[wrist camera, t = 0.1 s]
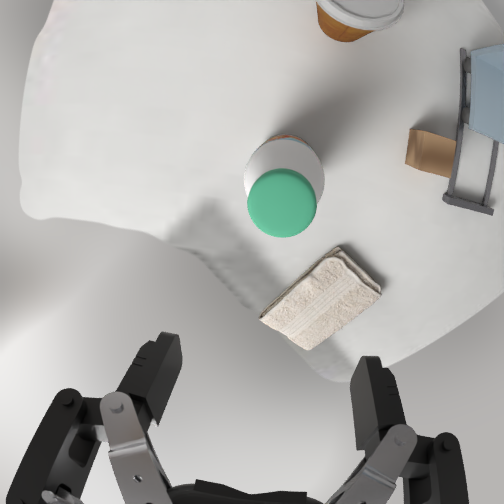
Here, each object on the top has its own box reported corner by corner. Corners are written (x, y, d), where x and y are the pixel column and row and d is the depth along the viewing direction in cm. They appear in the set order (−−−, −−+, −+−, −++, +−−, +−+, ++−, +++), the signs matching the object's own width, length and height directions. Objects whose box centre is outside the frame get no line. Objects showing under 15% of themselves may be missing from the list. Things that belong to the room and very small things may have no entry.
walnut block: (409, 128, 31) (425, 131, 27) (438, 137, 31) (456, 141, 26) (404, 163, 33) (419, 170, 29) (433, 170, 33) (450, 178, 29)
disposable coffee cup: (334, -16, 23) (349, -58, 12) (389, 28, 25) (424, -1, 14) (290, 21, 27) (290, -17, 16) (347, 66, 29) (372, 44, 18)
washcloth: (383, 284, 42) (388, 294, 40) (308, 346, 50) (308, 357, 47) (334, 239, 40) (337, 248, 37) (258, 312, 48) (255, 324, 45)
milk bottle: (325, 152, 35) (363, 187, 17) (296, 201, 38) (301, 278, 20) (273, 123, 34) (256, 125, 16) (246, 173, 37) (204, 227, 19)
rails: (456, 47, 24) (463, 45, 22) (502, 71, 23) (509, 71, 21) (442, 200, 34) (448, 204, 33) (486, 211, 34) (492, 215, 32)
